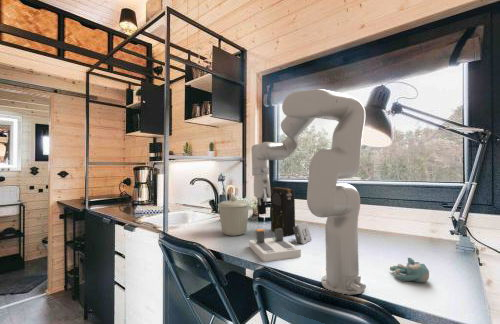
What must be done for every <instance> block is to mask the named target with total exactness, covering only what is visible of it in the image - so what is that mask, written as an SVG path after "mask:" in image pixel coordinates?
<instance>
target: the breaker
mask: <svg viewBox="0 0 500 324" xmlns="http://www.w3.org/2000/svg"><path fill="white" fill-rule="evenodd" d="M274 235H275V236H274V238H275V240H276V241H282V240H283V239H284V236H283V229H281V228H279V229H275V232H274Z"/></svg>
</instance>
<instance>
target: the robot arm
mask: <svg viewBox="0 0 500 324" xmlns="http://www.w3.org/2000/svg"><path fill="white" fill-rule="evenodd" d="M281 109H282V112H283V114H284V115H285V117H284V118H283V120H282V121H281V122H280V129H281V131H282V132H283V133H284V135H285V136H286V137H285V139H284V140H282V141H281V142H277V141H262V142H261V143H258V144H253V145H251V173H252V174H251V175H252V176H253V195H254V197H255V198H256V200H257V201H256V202H257V213H258V215H266V214H267V201H268V199H271V191H270V189H271V182H270V161H284V160H285V159H288V158H289V157H290V156H291V155H292V154H293V153H294V152H295V151H296V150H297V148H298V145H299V142H300V135H301V134H302V133H303V132H304V131H305V130H306V129H307V128H308V127H309V126H310V124H312V123H313V121H315V119H321V120H329V121H331V120H332V121H337V122H338V123H337V124H336V126H335V128H334V130H333V134H332V139H331V147H325V148H320V149H319V150H317V151H316V152H315V153H313V155H312V158H311V160H310V163H309V170H308V177H307V178H308V181H307V192H306V202H307V209H309V210H308V211H310V213H311V214H312V215H314V216H315V217H317V218H322V219H323V218H324V219H325V218H326V222H325V232H324V233H325V270H326V271H325V275H324V276H322V278H321V282H320V283H321V285H322V286H323V288H325V289H326V290H327V289H328V290H327V291H329V290H331V291H330V292H332V291H335V292H338V293H342V294H341V295H344V294H347V296H348V295H349V296H352V295H353V296H354V295H358V294H362V292H364V291H365V289H366V288H367V285H366V284H365V283H364V282H363V281H362V278H361V277H362V276H361V275H360V269H359V267H360V266H359V264H360V263H359V213H360V208H361V196H360V193H359V191H358V190H357V188H356V187H354V186H353V185H351V184H350V183H345V182H343V183H342V182H338V181H341V180H349V179H353V178H355V177H356V176H357V174H358V172H359V170H360V162H361V153H362V145H363V135H364V127H365V122H366V109H365V107H364V105H363V104H362V102H361V101H360V100H359V99H357V98H356V97H353V96H351V95H348V94H345V93H341V92H336V91H332V90H327V89H321V88H315V89H314V88H313V89H307V90H299V91H293V92H291V93H289V94H287V96H285V97H284V99H283V101H282V105H281ZM338 293H337V294H338Z"/></svg>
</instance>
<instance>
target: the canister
mask: <svg viewBox="0 0 500 324" xmlns="http://www.w3.org/2000/svg"><path fill="white" fill-rule="evenodd" d="M250 205H251V203H249V202H248V201H247V200H246V201H245V200H241V199H240V200H239V199H238V197H237V196H236V195H231V197H230V200H223V201H221V202H219V203H217V206H218V211H219V218H220V219H219V221H220V227H221V228H220V229H221V230H222V234H224V235H226V236H229V237H231V236H234V237H235V236H237V237H238V236H241V235H244V234H245V233H246V231H247V229H248V227H247V226H248V219H249V207H250Z"/></svg>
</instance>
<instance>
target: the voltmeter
mask: <svg viewBox="0 0 500 324" xmlns="http://www.w3.org/2000/svg"><path fill="white" fill-rule="evenodd" d="M270 191H271V197H270V229H271V232H274V233H275V229H279V228H281V229H283V237H287V236H292V235H293V236H294V235H295V234H294V230H293V227H295V226H296V212H295V211H296V208H295V207H296V204H295V203H296V202H295V201H296V199H295V195H296V194H295V189H292V188H286V187H285V188H284V187H278V186H277V187H274V186H273V187H270Z"/></svg>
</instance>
